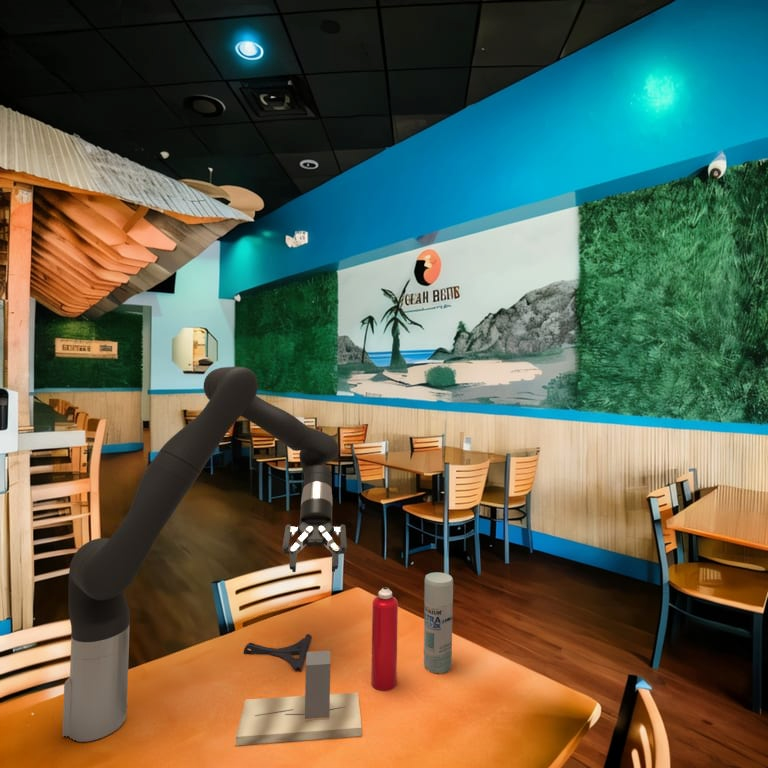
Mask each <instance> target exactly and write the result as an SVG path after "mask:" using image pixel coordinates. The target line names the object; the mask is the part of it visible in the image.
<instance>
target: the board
mask: <svg viewBox="0 0 768 768" xmlns="http://www.w3.org/2000/svg"><path fill="white" fill-rule="evenodd" d="M359 700H360V699H359V692H358V691H357V692H356V691H355V692H342V693H330V719H324V720H310V721H304V718H305V695H299V696H298V695H295V696H280V697H266V698H265V697H264V698H250V699H247V698H246V699H245V701H244V705H243V707H242V711H241V715H240V719H239V722H238V727H237V730H236V735H235V747H236V746H249V745H263V744H274V743H289V742H302V741H315V740H328V739H339V738H340V739H341V738H355V737H362V736H363V735H362V731H363V730H362V719H361V711H360V710H361V709H360V702H359Z"/></svg>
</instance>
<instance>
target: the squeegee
mask: <svg viewBox="0 0 768 768" xmlns="http://www.w3.org/2000/svg"><path fill="white" fill-rule="evenodd" d="M312 638H313V637H312V634H310V633H306V634H305V637H303V638H301V639H300V640H299V641H298V642H297V641H296V642H295V643H293V644H291V645H288V646H284V647H278V648H277V647H276V648H275V647H268V646H263V645H260V644H256V643H253V642H248V643H247V644H246V645H245V646H244V648H243V654H244V655H267V656H268V655H270V656H275V657H278V658H280V659H282V660H284V661H286V662H287V663H288V664H289V665H290V667H291V669H292V671H293V672H294V673H296V672H297V669H299V672H300V673H301V672H302V671H303V667H304V666H305V663H306V655H307V652H309V648H310V645H311V641H312ZM294 656H298V657H294Z"/></svg>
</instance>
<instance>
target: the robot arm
mask: <svg viewBox="0 0 768 768" xmlns="http://www.w3.org/2000/svg"><path fill="white" fill-rule="evenodd" d="M258 387H259V383H258V378H257V376H256V374H255V373H254V372H253V371H252V370H251V369H249V368H247V367H243V366H224V367H219V368H215V369H213V370H211V371H210V372H208V374H206V376H205V378H204V381H203V392H204V394H205V396H206V398H207V399H208V400H209V401H208V402H207V404H206V405H205V407H204V408H203V409H202V411H201V412H200V413H199V414H198V415H197V416H195V418H194V419H193V420H191V421H190V422H189V423H188V424H186V425H185V426H184V427H182V428H181V429H180V430H179V431H178V432H176V433H175V434H174V435H173V436H171V437H170V438H169V440H167V441H166V442H165V443H164V444H163V446H162V447H161V448H160V449H159V451H158V452H157V454H156V455H155V457H154V458H153V459H152V461H151V462H150V463H149V465H147V468H146V469H145V471H144V473H143V474H142V477H141V479H140V481H139V484H138V485H137V490H136V492H135V495H134V498H133V501H132V503H131V506H130V508H129V511H128V512H127V514H126V516H125V518H124V519H123V521H122V522H121V523H120V525H118V528H117V529H116V530H115V532H114V533H113V534H112V535H111V537H110V538H108V537H107V538H106V537H100V538H95V539H92V540H89V541H87V542H86V543H84V544H83V545H82V546H80V547H79V548H78V550H77V551H76V552H75V554H74V555H73V557H72V559H71V562H70V565H69V569H68V571H69V573H68V616H69V623H70V628H71V629H70V631H71V632H70V634H71V637H70V639H71V640H70V641H71V642H70V665H69V666H70V667H69V668H70V671H69V677H68V678H67V679H66V680H65V682H64V684H63V685H64V686H63V706H62V707H63V713H62V736H63V737H62V738H69V737H70V739H71V738H72V739H73V741H75V740H76V742H81V743H83V742H92V741H96V740H99V739H102V738H104V737H105V738H106V737H107V736H109V735H110V734H112V733H114V732H115V731H117V730H118V729H119V728H120V727H122V725H123V724H124V723H125V721H126V720H127V714H128V711H127V709H128V688H129V687H128V685H129V655H130V654H129V653H130V652H129V650H130V649H129V648H130V624H131V623H130V621H131V620H130V619H131V618H130V617H131V616H130V614H131V613H130V608H129V606H128V602H127V600H126V595H125V590H126V589H127V588H128V587H129V586H130V585H131V584H132V582H133V581H134V580H135V578H136V576H137V575H138V573H139V571H140V569H141V568H142V566H143V564H144V562H145V560H146V558H147V556H148V555H149V553H150V551H151V549H152V548H153V545H154V543H155V542H156V540H157V538H158V537H159V535H160V533H161V532H162V530H163V528H164V527H165V525H166V524H167V523H168V521H169V520H170V518H171V517H172V516H173V514H174V513H175V511H176V509H177V508H178V506H179V505H180V503H181V502H182V500H183V499H184V497H185V496H186V495H187V493H188V491H190V489H191V488H192V486H193V485H194V483H195V482H196V480H197V478H198V477H199V476H200V474H201V473H202V471H203V469H204V468H205V466H206V465H207V462H209V460H210V458H211V457H212V455H213V454H214V453H215V452H216V450H217V448H218V447H219V445H220V444H221V442H222V441H223V439H224V438H225V437H226V435H227V433H228V432H229V431H230V429H231V428H232V427H233V426H234V424H236V422H238V421H237V420H238V419H239V418H240V417H242V418H244V419H245V420H247V421H249V422H250V423H252V424H253V425H255V426H257V427H258V428H260V429H261V430H263V431H264V432H266V433H268V434H269V435H270V436H272V437H273V438H275V439H276V440H278V441H279V442H280V443H282V444H284V445H285V446H286V447H287V448H289V449H290V450H292V451H299V462H300V465H301V469H302V473H303V490H302V493H301V501H300V516H299V517H300V518H299V524H298V526H297V527H296V526H291V524H287V525H285V529H284V535H283V541H282V554H284V555H289V562H288V563H289V564H288V565H289V566H288V567H289V569H290V570H291V571H292V573H296V572H297V559H298V557H297V556H298V555H297V554H299V552H300V551H302V550H303V549H304V548H305V546H307V547H315V546H316V547H323V546H325V548H326V549H327V550H329V551H330V553H331V572H333V573H335V572H336V570H338V568H339V560H340V559H339V555H341V554H346V553H347V547H348V543H347V541H348V540H347V530H346V529H347V528H346V525H345V524H341V525H339V526H334V525H333V494H332V492H333V490H332V487H333V486H332V482H333V481H332V479H333V478H332V477H333V476H332V470H331V469H330V468H329V467H328V466H326V465H325V464H327V463H329V462H332V461H333V460H335V459H336V458H338V455H339V452H340V450H339V444H338V443H337V441H336V439H335V438H334V437H332V436H331V435H330V434H328V433H327V432H323V431H321V430H318V429H315V428H313V427H310V426H308V425H306V424H305V423H304V422H302V421H301V420H299V419H298V418H297V417H296V416H294V415H293V414H291V413H290V412H288V411H286V410H285V409H282V408H280V407H277V406H276V405H273V404H272V403H269V402H268V401H266V400H264V399H262V398H260V397H259V396H258V395H257V392H258V389H259V388H258ZM295 534H297V535H298V536H299V537H298V538H297V539H296V541H295V542H294V544H293V545H291V546H290V543H291V538H293V537H295V536H294V535H295ZM334 534H335V535H336V536H337V537H338V538H339V540H340V545H337V544H336V542H335V540H334V538H333V537H332V536H333V535H334ZM64 736H66V737H64ZM67 736H69V737H67ZM72 739H71V740H72Z"/></svg>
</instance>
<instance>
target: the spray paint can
mask: <svg viewBox="0 0 768 768" xmlns="http://www.w3.org/2000/svg"><path fill="white" fill-rule="evenodd" d="M423 595H424V601H423V603H424V607H423V609H424V612H423V613H424V615H423V616H424V617H423V619H424V621H423V625H424V626H423V666H425V667H424V668H425V669H426V670H427V671H428V670H429V671H430V672H429V671H428V672H429V673H432V672H433V673H432V674H435V673H444V674H447V673H449V672H450V671H451V669H452V661H453V659H452V658H453V657H452V654H453V653H452V652H453V650H452V648H453V647H452V646H453V614H454V613H453V605H454V579H453V577H452V575H450V574H448V573H445V572H441V571H440V572H437V571H436V572H430V573H428V574H426V575H425V578H424V594H423ZM449 670H450V671H449ZM448 671H449V672H448ZM446 672H447V673H446Z"/></svg>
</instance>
